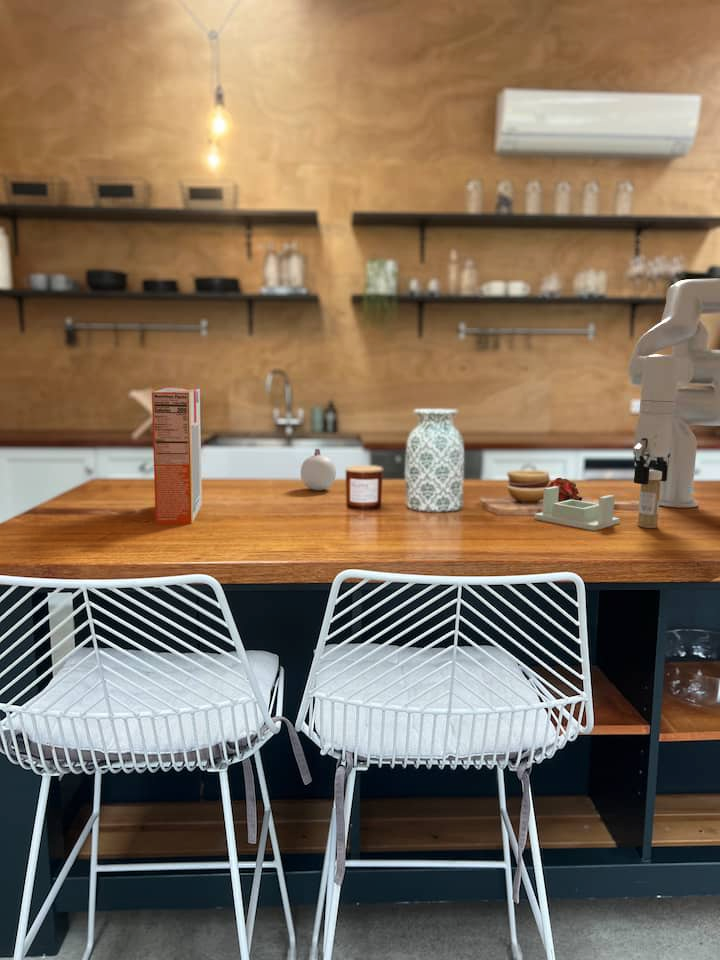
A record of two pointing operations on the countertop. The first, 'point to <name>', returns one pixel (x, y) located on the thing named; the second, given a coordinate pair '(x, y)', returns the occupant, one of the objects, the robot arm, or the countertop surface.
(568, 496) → the dragon fruit
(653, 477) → the sprinkles bottle
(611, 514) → the caddy
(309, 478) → the ornament
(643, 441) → the robot arm
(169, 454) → the orange cereal box
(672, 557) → the countertop surface
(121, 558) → the countertop surface
